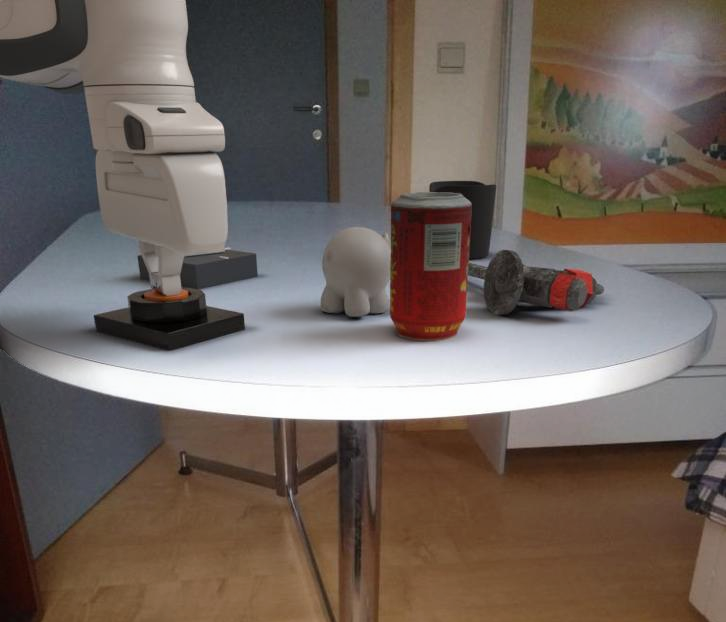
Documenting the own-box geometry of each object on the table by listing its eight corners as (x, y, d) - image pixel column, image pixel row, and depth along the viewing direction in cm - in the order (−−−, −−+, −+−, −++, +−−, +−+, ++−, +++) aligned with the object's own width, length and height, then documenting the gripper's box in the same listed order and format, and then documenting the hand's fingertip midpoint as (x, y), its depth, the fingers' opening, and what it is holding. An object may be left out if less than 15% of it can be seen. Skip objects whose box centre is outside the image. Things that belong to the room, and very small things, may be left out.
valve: (649, 334, 74) (524, 326, 68) (516, 295, 96) (414, 286, 90) (666, 270, 71) (538, 256, 66) (525, 245, 94) (421, 233, 88)
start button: (137, 312, 68) (134, 293, 67) (171, 304, 70) (169, 286, 70) (164, 318, 65) (162, 299, 65) (198, 310, 68) (196, 291, 67)
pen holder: (498, 253, 108) (504, 181, 104) (480, 263, 101) (485, 186, 96) (439, 249, 112) (442, 180, 107) (417, 259, 104) (419, 184, 100)
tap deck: (136, 280, 91) (132, 254, 90) (204, 267, 99) (201, 243, 98) (194, 291, 85) (191, 264, 84) (261, 276, 93) (260, 251, 92)
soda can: (480, 337, 66) (489, 194, 61) (414, 348, 63) (417, 199, 58) (438, 321, 72) (443, 189, 66) (376, 330, 69) (375, 193, 64)
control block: (96, 332, 69) (89, 295, 67) (171, 314, 75) (167, 280, 73) (170, 352, 63) (165, 312, 61) (245, 331, 69) (242, 294, 67)
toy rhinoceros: (437, 305, 78) (440, 222, 74) (355, 325, 71) (354, 234, 67) (390, 295, 83) (390, 217, 79) (309, 312, 75) (305, 227, 72)
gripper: (69, 127, 67) (95, 280, 73) (156, 127, 52) (180, 318, 58) (135, 126, 70) (154, 272, 76) (235, 126, 55) (249, 307, 61)
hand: (166, 292), depth 67 cm, fingers closed, pressing on start button
